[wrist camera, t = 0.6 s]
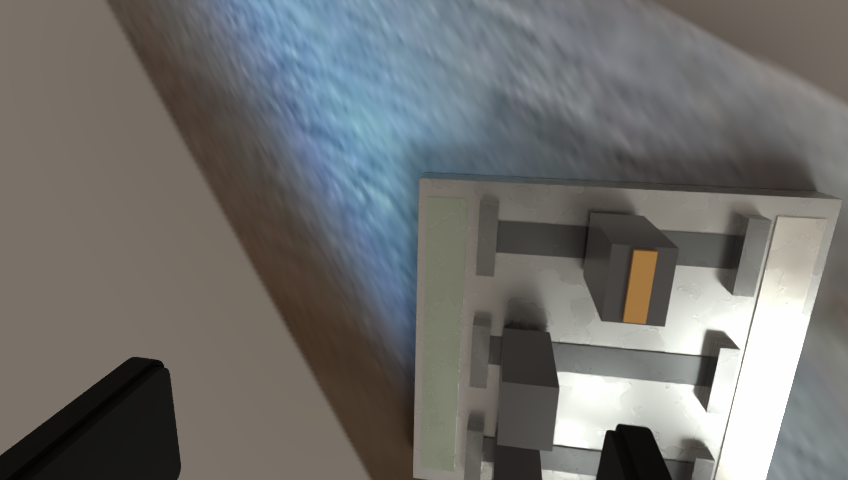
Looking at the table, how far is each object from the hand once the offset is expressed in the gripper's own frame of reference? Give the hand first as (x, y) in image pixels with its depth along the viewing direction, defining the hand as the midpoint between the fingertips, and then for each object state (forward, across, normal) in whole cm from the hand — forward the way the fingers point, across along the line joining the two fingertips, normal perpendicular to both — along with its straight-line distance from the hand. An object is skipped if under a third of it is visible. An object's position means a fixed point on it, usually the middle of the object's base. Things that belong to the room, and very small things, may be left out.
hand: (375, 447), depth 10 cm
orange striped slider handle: (+17, -8, 0) cm, 19 cm away
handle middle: (+17, -5, +8) cm, 20 cm away
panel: (+20, -9, +8) cm, 23 cm away
